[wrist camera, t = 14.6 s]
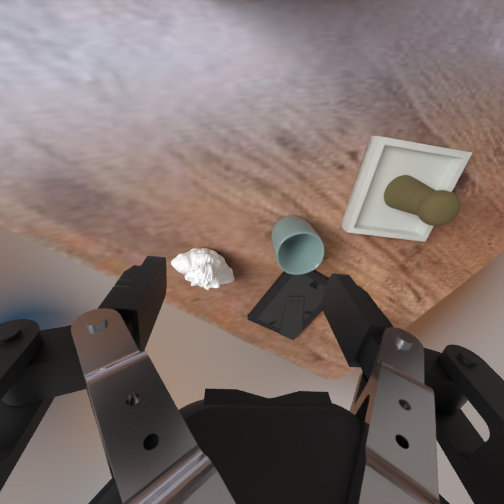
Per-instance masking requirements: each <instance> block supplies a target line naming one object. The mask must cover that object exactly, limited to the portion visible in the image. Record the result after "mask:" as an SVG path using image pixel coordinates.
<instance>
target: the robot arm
mask: <svg viewBox="0 0 504 504" xmlns="http://www.w3.org/2000/svg"><path fill="white" fill-rule="evenodd" d="M166 287H167V281H166V258H165V257H156V256H147V257H146V259H145V261H144V262H143V264H142V265H141V266H135V265H134V266H132V267H131V268H129V269H128V270H126V271H125V272H124V273H123V274H122V276H121V277H120V278H119V280H118V281H117V283H116V284H115V287H113V288H112V290H111V291H110V293H109V294H108V295H107V297H106V298H105V299H104V301H103V302H102V303H101V305H100V306H99V308H98V309H96V310H91V311H89V312H86V313H84V314H83V315H81V316H79V317H78V318H77V319H76V320H75V321H74V322H73V324H72V325H70V326H66V327H60V328H53V329H47V330H41V331H40V328H39V325H38V324H37V323H36V322H35V321H32V320H27V319H19V320H12V321H8V322H5V323H2V324H0V491H1V489H2V488H3V486H4V484H5V482H6V481H7V479H8V477H9V475H10V474H11V472H12V470H13V469H14V467H15V465H16V463H17V462H18V460H19V458H20V456H21V455H22V453H23V451H24V449H25V448H26V446H27V444H28V443H29V441H30V439H31V437H32V436H33V434H34V432H35V431H36V429H37V427H38V425H39V424H40V422H41V420H42V418H43V417H44V415H45V413H46V411H47V410H48V408H49V406H50V405H51V403H52V401H53V399H54V397H56V396H60V395H63V394H68V393H72V392H76V391H79V390H83V389H87V393H88V396H89V400H90V403H91V407H92V410H93V413H94V416H95V420H96V424H97V427H98V431H99V434H100V438H101V441H102V445H103V448H104V452H105V455H106V459H107V462H108V466H109V469H110V473H111V476H112V479H111V480H110V481H109V482H108V483H107V484H106V485H105V486H104V487H103V488H102V489H101V491H100V492H99V493H98V494H97V495H96V496H95V497H94V498H93V499H92V500H91V501H90V502H89V504H449V503H448V502H447V501H446V500H445V499H444V498H443V497H442V496H441V495H440V494H439V489H438V468H437V446H436V439H437V441H438V443H439V444H440V446H441V448H442V450H443V451H444V453H445V455H446V456H447V458H448V460H449V462H450V463H451V465H452V467H453V468H454V470H455V472H456V473H457V475H458V477H459V478H460V480H461V482H462V483H463V485H464V487H465V489H466V490H467V492H468V494H469V495H470V497H471V499H472V501H473V502H474V504H504V380H503V379H502V378H501V377H500V376H499V375H498V374H497V373H496V372H495V371H494V370H493V369H492V368H491V367H490V366H489V365H488V364H487V363H486V362H485V361H484V360H483V359H482V358H480V357H479V356H478V355H476V354H475V353H473V352H472V351H470V350H468V349H466V348H464V347H461V346H458V345H448V346H446V348H445V349H444V350H443V352H442V353H440V352H437V351H433V350H430V349H427V348H424V347H423V345H422V344H421V342H420V341H419V340H418V339H417V338H416V337H415V336H413V335H412V334H410V333H409V332H407V331H405V330H403V329H400V328H396V327H393V325H392V324H391V323H390V321H389V320H388V319H387V317H386V316H385V315H384V314H383V312H382V311H381V310H380V308H379V307H377V305H376V303H375V302H374V301H373V299H372V298H371V297H370V296H369V294H368V293H367V292H366V291H365V290H363V289H362V288H361V287H359V286H358V285H356V284H355V282H354V281H353V280H352V278H351V277H350V276H349V275H346V274H335V273H333V274H332V275H331V276H330V278H329V281H328V284H327V287H326V290H325V293H324V295H323V298H322V309H323V312H324V314H325V316H326V318H327V320H328V322H329V324H330V327H331V329H332V331H333V333H334V335H335V337H336V339H337V341H338V344H339V346H340V348H341V350H342V352H343V354H344V356H345V358H346V361H347V363H348V365H349V367H361V369H362V370H363V371H362V373H361V375H360V377H359V381H358V384H357V387H356V391H355V395H354V398H353V402H352V405H351V409H350V411H348V410H346V409H344V408H343V407H341V406H338V405H336V404H333V403H331V400H330V397H329V394H328V392H309V391H298V392H294V393H290V394H287V395H283V396H279V397H275V398H265V397H261V396H258V395H254V394H250V393H247V392H244V391H240V390H236V389H205V397H204V399H203V400H200V401H196V402H194V403H191V404H189V405H187V406H185V407H183V408H181V409H180V410H178V408H177V407H176V405H175V403H174V401H173V400H172V398H171V396H170V394H169V392H168V390H167V389H166V387H165V385H164V383H163V381H162V380H161V378H160V376H159V374H158V372H157V371H156V369H155V367H154V365H153V363H152V361H151V360H150V358H149V356H148V354H147V353H146V352H145V351H144V350H145V347H146V345H147V342H148V339H149V337H150V334H151V332H152V329H153V327H154V324H155V322H156V319H157V316H158V314H159V311H160V309H161V306H162V303H163V301H164V298H165V294H166ZM468 400H469V402H470V403H471V404H472V405H473V407H474V408H475V409H476V410H477V412H478V413H479V414H480V415H481V417H482V418H483V419H484V421H485V422H486V423H487V425H488V428H489V431H490V437H489V439H488V441H486V442H484V441H483V439H482V438H481V436H480V435H479V434H478V432H477V431H476V429H475V428H474V427H473V425H472V424H471V423H470V421H469V420H468V418H467V417H466V416H465V414H464V413H463V412H462V410H461V409H460V408H461V407H462V406H463V405H464V404H465V403H466V402H467V401H468Z"/></svg>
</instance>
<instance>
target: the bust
mask: <svg viewBox="0 0 504 504" xmlns="http://www.w3.org/2000/svg"><path fill="white" fill-rule="evenodd" d="M171 264H172V266H173V267H174V268H175V269H176V270H177V271H179V272H180V273H182V274H186V275H185V279H186V280H188V281H190V282H192V283H191V286H196V285H199V286H200V287H204V288H205V289H207V290H209V289H210V288H211V287H212V288H219V286H220V284H228V283H231V282H233V281H234V276H233V271H232V269H231V268H230V267H229V266H228V265H227V263H226V262H225V259H224V258H223V257H222V256H221V255H219V254H218V253H217V252H215V251H214V250H210V249H208V248H201V249H199V248H194V249H191V250H190V251H189V252H186V253H183V254H179V255H178V256H177V257H176V258H174V259H173V260H172V261H171Z"/></svg>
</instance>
